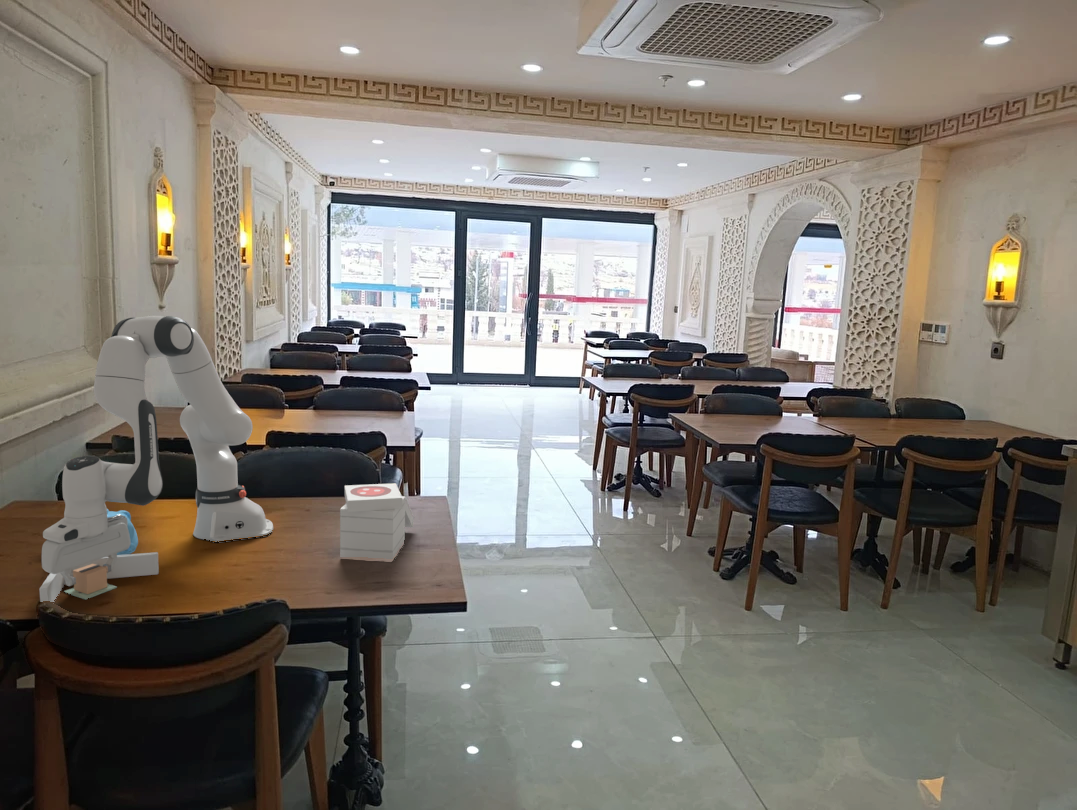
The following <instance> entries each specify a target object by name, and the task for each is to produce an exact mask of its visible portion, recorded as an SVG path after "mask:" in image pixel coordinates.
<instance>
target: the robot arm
mask: <svg viewBox="0 0 1077 810" xmlns="http://www.w3.org/2000/svg"><path fill="white" fill-rule="evenodd" d="M164 357H165V359H166V360H167V363H168V367H169V368H170V371H171V374H172V376H173V378H174V380H175V383H176V386H177V388H178V390H179V393H180V395H181V396H182V398H183V400H185V401H186V402H187V403H189V405H187V406H186V407H184V409H183V410H182V411H181V413H180V416H179V425H180V427H181V428H182V430H183V432H184V433H185V435H187V438H188V440H189V443H190V447H191V449H192V453H193V456H194V459H195V464H196V479H197V480H196V481H197V482H196V483H197V487H196V490H195V504H196V507H197V510H196V511H197V512H196V519H195V520H196V521H195V525H194V529H193V533H192V535H193V536H194V537H195V538H196V539H199V540H204V539H206V541H209V540H210V542H211V541H215V542H217V541H218V542H219V541H224V540H231V539H232V540H233V539H239V538H248V537H255V536H263V535H267V534H269V533H271V532H272V533H273V531H274V524H273V522H272V521H271V520H270V519H267V518H266V514H265V512H264V509H263V508H262V506H260V504H258V503H256V502H254V501H252V500H251V499H249V498H248V497H246V496H247V491H246V487H245V486H244V485H241V484H239V483H238V480H239V479H238V461H237V459H236V457H235V455H233V453H232V450H231V449H230V446H240V445H242V444H244V443H246V442H247V441H248V440H249V439H250V437H251V435H252V432H253V428H254V427H253V421H252V419H251V418H250V416H249V415H247V413H245V412H244V411H243V410H242V409H241V407H239V406H238V404H237V403H236V402H235V400H234V399H233V397H232V396H231V395H230V394H229V392H228V390H227V389H226V387H225V386H224V384H223V382H222V381H221V378H220V376H219V373H218V371H217V369H216V366H215V364H214V362H213V359H212V356H211V354H210V352H209V349H208V348H207V345H206V344H205V341H204V340H203V339H202V337H201V335H200V334H199V333H198V331H197V330H196V329H194V328H192V327H191V326H190V325H189V323H188V322H187V321H185V320H184V319H182V318H181V317H178V316H177V317H176V316H173V315H166V316H165V315H164V316H163V315H146V316H139V317H134V316H133V317H128V318H124V319H122V320H120V321H119V322H117V323H116V324H115V326H114V327H113V330H112V333H111V336H110V337H109V338H107V339H106V340H105V341H103V344H102V346H101V349H100V352H99V355H98V359H97V363H96V367H95V369H96V370H95V373H94V374H95V376H94V382H93V395H94V399H95V401H96V402H97V404H98V405H99V406H100V407H101V408H102V409H103V410H105V411H106V412H108V413H109V414H111V415H114V416H116V417H118V418H119V419H121V420H123V421H124V422H126V423H127V424H128V425H129V426H130V427H131V430H132V432H133V440H134V458H135V459H134V460H135V462H134V463H133V464H131V463H119V462H111V461H110V462H109V461H104V460H101V458H100V457H98V456H95V455H82V456H77V457H74V458H72V459H70V460H69V461H67V462H66V463H65V464H64V467H63V471H62V481H61V482H62V483H61V484H62V485H61V487H62V498H63V501H64V504H65V507H64V513H63V516H64V517H63V518H61V519H60V520H58V521H57V522H56V523H54V524H52V525H51V526H49V527H47V528H46V529H44V530H43V531H42V537H43V539H45V541H44V542H43V544H42V546H41V568H42V569H43V570H44V571H45V572H47V573H49V574H50V573H51V574H57V573H59V572H60V574H61V575H62V576H63V577H64V578H65V586H68V587H72V586H74V585H75V584H76V578H75V577H72V576H70V575H69V574H68V573H71V568H74V567H77V566H80V565H83V564H86V563H89V562H92V561H95V560H98V559H101V558H104V557H108V559H107V562H106V564H104V565H103V567H105V568H106V572H107V573H108V572H111V571H113V564H114V562H115V560H116V558H117V553H118V552H121V551H124V550H127V549H128V548H129V547H130V544H131V542H130V535H129V531H128V527H127V525H128V523H127V518H126V517H125V516H123V515H116V516H113V517H108V518H107V509H108V508H107V505H106V502H111V503H112V502H114V503H128V504H129V505H137V506H146V505H149V504H150V503H152V502H153V501H154V500H156V499H157V498H158V497H159V495H161V494H162V490H163V488H164V487H163V486H164V479H163V475H162V469H161V466H160V459H159V458H160V455H159V454H160V453H159V440H158V423H157V415H156V409H155V406H154V405H153V403H152V402H150V401H149V400H148V397H147V395H146V390H145V380H146V379H145V378H146V365H147V362H148V360H149V359H151V358H152V359H155V358H164ZM272 530H273V531H272ZM272 533H271V534H272ZM269 535H270V534H269ZM263 537H264V536H263ZM248 539H249V538H248ZM233 541H234V540H233ZM219 543H220V542H219Z"/></svg>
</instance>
